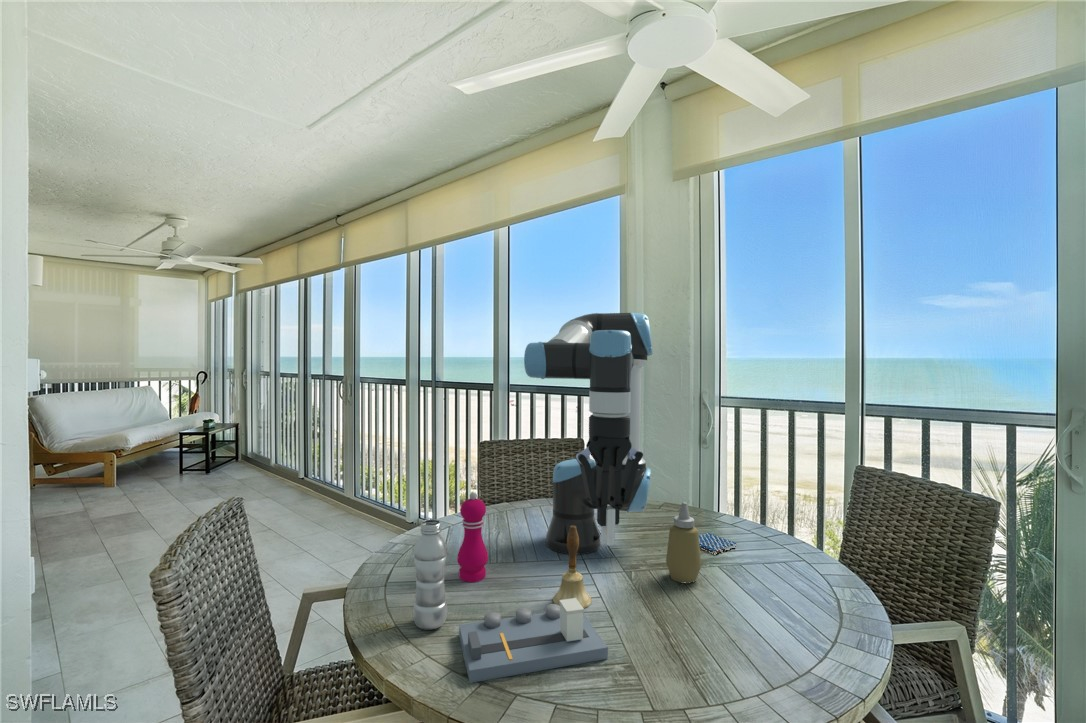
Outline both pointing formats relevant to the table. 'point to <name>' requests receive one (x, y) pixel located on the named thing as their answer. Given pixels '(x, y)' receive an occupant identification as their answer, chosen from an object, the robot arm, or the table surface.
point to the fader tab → (571, 619)
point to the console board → (525, 644)
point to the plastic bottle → (430, 577)
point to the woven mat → (714, 543)
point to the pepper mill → (472, 541)
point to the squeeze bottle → (683, 548)
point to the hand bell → (572, 575)
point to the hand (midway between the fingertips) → (607, 542)
